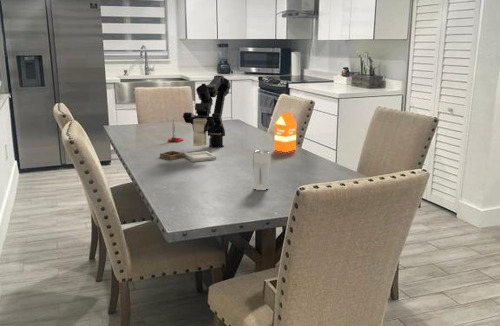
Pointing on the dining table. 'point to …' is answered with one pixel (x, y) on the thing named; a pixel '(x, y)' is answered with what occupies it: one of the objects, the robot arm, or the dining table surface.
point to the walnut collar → (171, 155)
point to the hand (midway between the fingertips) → (199, 132)
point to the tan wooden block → (199, 132)
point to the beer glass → (261, 169)
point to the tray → (200, 156)
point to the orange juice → (285, 133)
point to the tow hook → (174, 136)
